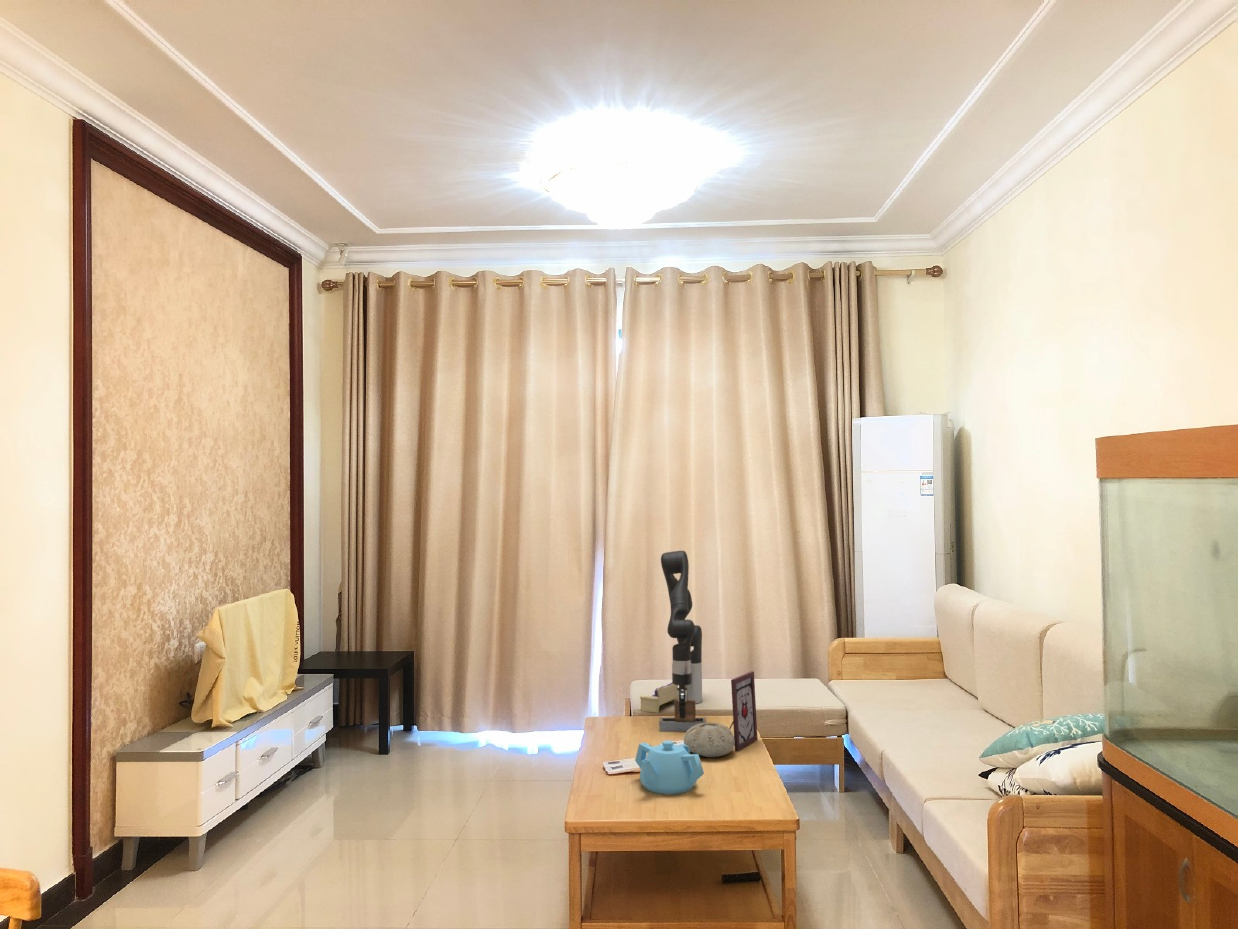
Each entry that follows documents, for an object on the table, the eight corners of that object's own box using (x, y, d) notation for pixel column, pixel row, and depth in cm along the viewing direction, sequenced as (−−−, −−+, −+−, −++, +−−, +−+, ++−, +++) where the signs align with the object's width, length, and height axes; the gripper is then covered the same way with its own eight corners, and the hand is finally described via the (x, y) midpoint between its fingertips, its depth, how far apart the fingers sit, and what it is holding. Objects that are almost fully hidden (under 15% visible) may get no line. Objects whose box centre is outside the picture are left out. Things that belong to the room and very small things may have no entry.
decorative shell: (705, 765, 283) (704, 735, 283) (673, 752, 298) (672, 723, 298) (745, 755, 293) (744, 726, 293) (712, 743, 307) (711, 715, 308)
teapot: (637, 777, 272) (636, 733, 272) (696, 775, 273) (695, 732, 273) (642, 798, 252) (641, 752, 253) (705, 796, 253) (705, 750, 254)
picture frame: (737, 751, 297) (736, 680, 298) (712, 747, 302) (711, 677, 303) (757, 740, 310) (756, 671, 311) (733, 736, 316) (732, 669, 317)
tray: (659, 726, 331) (659, 717, 331) (706, 726, 329) (705, 717, 330) (659, 731, 324) (659, 722, 324) (706, 731, 322) (706, 722, 323)
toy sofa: (662, 700, 373) (661, 677, 373) (679, 703, 369) (679, 679, 369) (639, 711, 355) (639, 687, 355) (657, 714, 351) (657, 689, 351)
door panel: (674, 725, 328) (674, 699, 329) (695, 725, 328) (695, 699, 328) (674, 727, 325) (674, 701, 326) (695, 727, 325) (695, 701, 325)
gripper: (672, 667, 335) (672, 711, 334) (671, 675, 321) (672, 721, 320) (691, 667, 334) (691, 711, 333) (691, 675, 320) (692, 721, 319)
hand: (682, 716), depth 327 cm, fingers open, 3 cm apart
